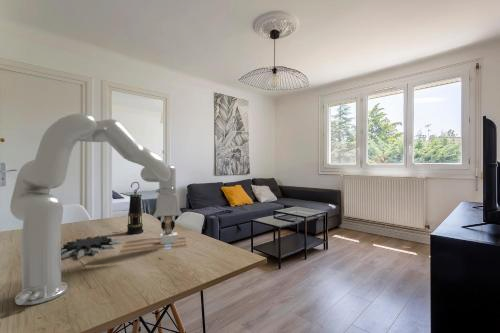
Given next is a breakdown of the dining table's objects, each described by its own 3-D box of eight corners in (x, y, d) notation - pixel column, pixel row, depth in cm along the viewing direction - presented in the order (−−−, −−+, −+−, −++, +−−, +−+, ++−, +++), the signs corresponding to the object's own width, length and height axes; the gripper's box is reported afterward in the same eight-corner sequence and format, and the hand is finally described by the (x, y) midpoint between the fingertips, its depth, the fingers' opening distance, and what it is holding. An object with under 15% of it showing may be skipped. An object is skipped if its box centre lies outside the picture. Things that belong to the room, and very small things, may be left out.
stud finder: (177, 242, 126) (177, 234, 126) (160, 244, 123) (160, 235, 123) (177, 239, 130) (177, 231, 130) (160, 241, 128) (160, 233, 128)
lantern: (135, 235, 144) (135, 182, 143) (122, 233, 147) (122, 182, 146) (146, 231, 152) (146, 181, 152) (134, 230, 155) (133, 181, 155)
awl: (171, 234, 120) (171, 216, 119) (164, 235, 119) (164, 217, 118) (172, 232, 123) (171, 215, 123) (164, 233, 122) (164, 215, 122)
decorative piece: (88, 231, 138) (136, 234, 132) (88, 238, 138) (136, 241, 132) (29, 250, 109) (88, 255, 103) (30, 259, 109) (88, 264, 103)
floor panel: (186, 249, 119) (186, 247, 119) (118, 256, 111) (118, 253, 111) (184, 237, 138) (184, 235, 138) (127, 242, 130) (127, 240, 130)
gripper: (148, 193, 114) (148, 233, 115) (185, 191, 119) (186, 230, 119) (149, 191, 122) (150, 229, 122) (185, 190, 126) (185, 226, 127)
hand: (168, 229), depth 121 cm, fingers closed on awl, 3 cm apart
